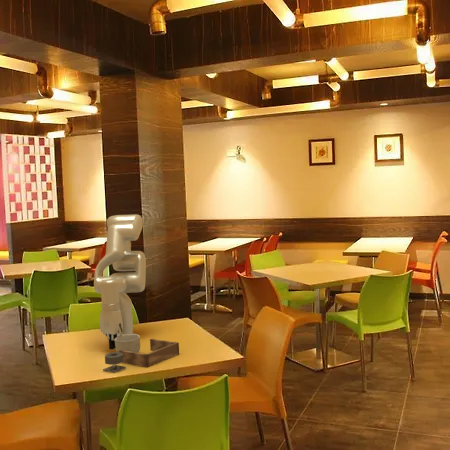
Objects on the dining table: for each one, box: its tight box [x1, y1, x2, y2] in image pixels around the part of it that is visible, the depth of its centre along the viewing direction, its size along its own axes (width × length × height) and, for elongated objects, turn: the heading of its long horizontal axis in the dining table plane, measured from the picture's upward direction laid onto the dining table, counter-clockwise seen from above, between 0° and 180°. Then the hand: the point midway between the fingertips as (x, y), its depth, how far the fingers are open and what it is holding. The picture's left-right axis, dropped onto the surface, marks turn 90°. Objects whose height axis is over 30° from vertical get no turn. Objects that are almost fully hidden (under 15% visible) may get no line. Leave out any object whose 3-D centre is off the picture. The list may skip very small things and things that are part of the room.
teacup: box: [114, 333, 141, 353], centre depth 254 cm, size 14×11×8 cm
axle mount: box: [102, 364, 127, 374], centre depth 234 cm, size 6×6×3 cm
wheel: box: [104, 351, 123, 366], centre depth 233 cm, size 7×7×3 cm
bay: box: [119, 338, 180, 368], centre depth 247 cm, size 15×20×5 cm
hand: (113, 348), depth 259 cm, fingers closed
